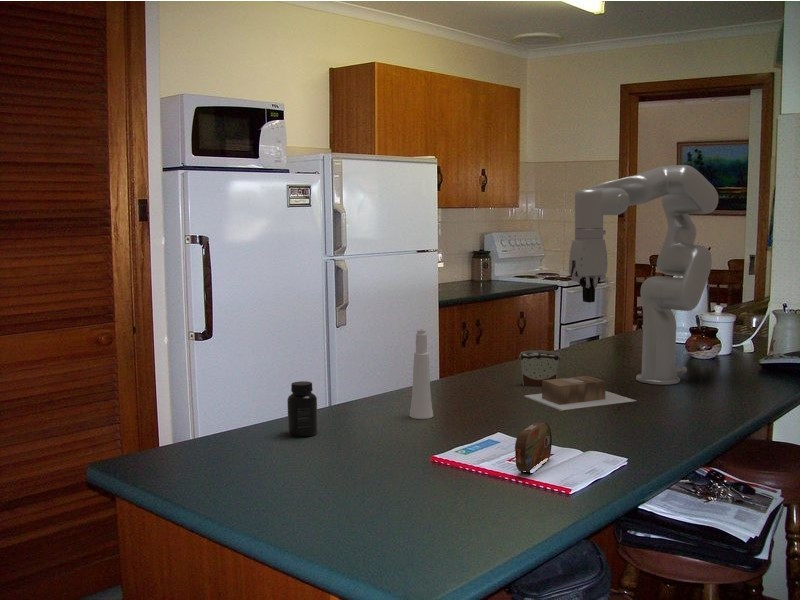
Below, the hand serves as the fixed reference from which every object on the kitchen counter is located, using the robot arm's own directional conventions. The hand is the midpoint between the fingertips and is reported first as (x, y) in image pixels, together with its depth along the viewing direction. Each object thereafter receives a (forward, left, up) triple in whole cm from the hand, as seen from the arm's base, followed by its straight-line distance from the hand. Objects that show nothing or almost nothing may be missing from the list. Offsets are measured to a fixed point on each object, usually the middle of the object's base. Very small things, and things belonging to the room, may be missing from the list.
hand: (588, 301), depth 224 cm
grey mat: (+4, +3, -26) cm, 27 cm away
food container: (+4, -17, -27) cm, 32 cm away
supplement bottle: (+83, +4, -27) cm, 88 cm away
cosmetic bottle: (+51, +1, -27) cm, 58 cm away
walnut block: (-1, +3, -24) cm, 24 cm away
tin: (+48, +47, -27) cm, 72 cm away
